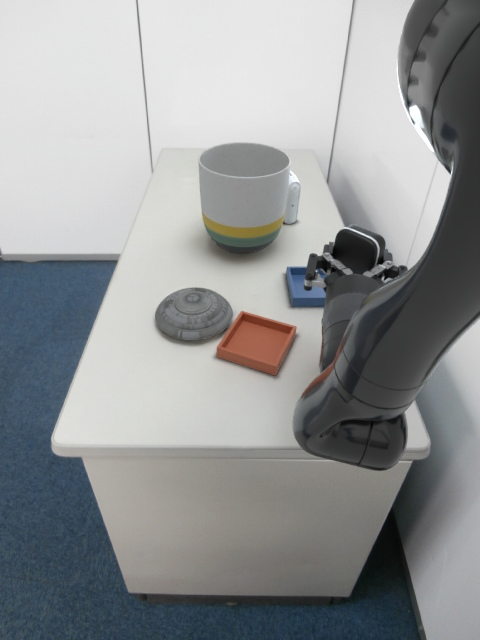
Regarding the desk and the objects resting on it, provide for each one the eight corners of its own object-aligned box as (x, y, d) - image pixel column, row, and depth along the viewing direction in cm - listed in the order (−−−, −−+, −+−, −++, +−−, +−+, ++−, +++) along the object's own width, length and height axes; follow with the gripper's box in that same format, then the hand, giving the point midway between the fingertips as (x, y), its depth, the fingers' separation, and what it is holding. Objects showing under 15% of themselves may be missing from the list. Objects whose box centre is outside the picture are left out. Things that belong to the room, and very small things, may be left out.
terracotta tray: (295, 335, 85) (296, 326, 84) (275, 375, 78) (276, 366, 76) (241, 319, 89) (241, 310, 87) (216, 356, 81) (216, 347, 79)
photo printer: (299, 222, 119) (304, 177, 111) (284, 225, 117) (288, 179, 109) (282, 205, 126) (286, 161, 118) (268, 208, 125) (271, 163, 117)
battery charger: (374, 300, 70) (393, 235, 63) (361, 311, 68) (378, 244, 61) (337, 281, 74) (350, 217, 67) (323, 291, 72) (335, 226, 64)
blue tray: (346, 306, 92) (348, 297, 91) (292, 306, 92) (293, 297, 90) (335, 274, 101) (337, 266, 99) (285, 275, 100) (286, 266, 99)
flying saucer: (141, 333, 85) (137, 311, 81) (176, 289, 96) (174, 267, 92) (215, 354, 81) (214, 331, 78) (243, 305, 92) (243, 283, 88)
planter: (297, 257, 106) (308, 168, 92) (220, 276, 100) (219, 183, 86) (260, 220, 119) (265, 137, 105) (190, 234, 113) (185, 148, 99)
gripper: (422, 303, 52) (412, 234, 64) (299, 285, 54) (312, 221, 67) (405, 350, 57) (399, 277, 69) (293, 332, 59) (306, 264, 71)
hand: (356, 250), depth 68 cm, fingers closed on battery charger, 7 cm apart
